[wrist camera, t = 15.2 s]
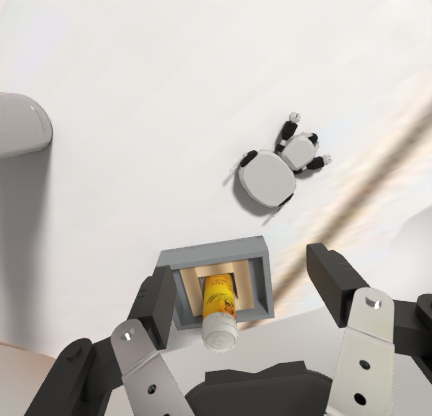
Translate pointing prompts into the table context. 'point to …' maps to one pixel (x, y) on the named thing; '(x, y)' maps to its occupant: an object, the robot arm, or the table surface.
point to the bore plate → (194, 274)
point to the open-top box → (226, 252)
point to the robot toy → (280, 166)
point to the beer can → (219, 314)
